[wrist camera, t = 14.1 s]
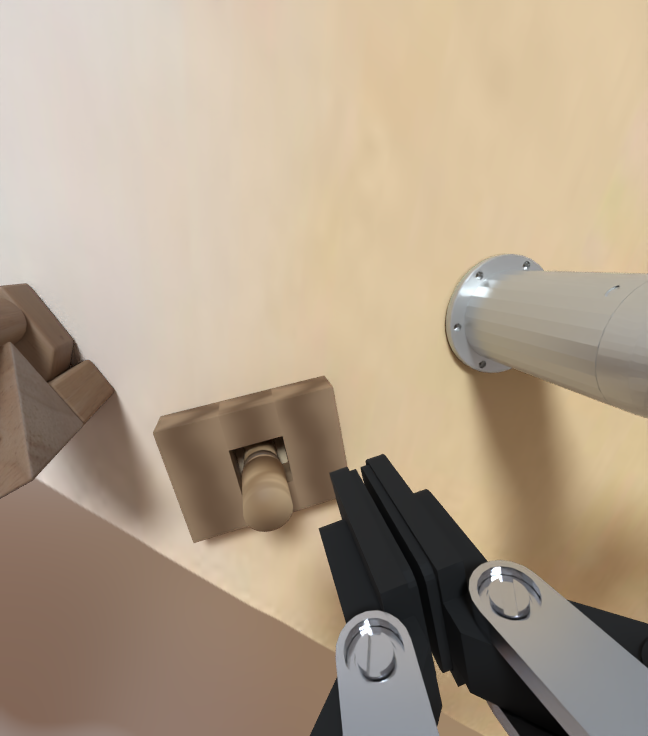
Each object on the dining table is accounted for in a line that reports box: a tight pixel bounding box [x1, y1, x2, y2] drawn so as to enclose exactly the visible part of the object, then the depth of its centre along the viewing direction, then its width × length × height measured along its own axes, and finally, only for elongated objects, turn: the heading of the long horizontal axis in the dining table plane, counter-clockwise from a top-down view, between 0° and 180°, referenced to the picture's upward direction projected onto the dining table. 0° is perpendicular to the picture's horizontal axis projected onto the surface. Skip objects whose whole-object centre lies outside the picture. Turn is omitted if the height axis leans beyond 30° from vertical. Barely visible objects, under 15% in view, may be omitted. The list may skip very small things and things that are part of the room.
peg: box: [242, 439, 293, 532], centre depth 32 cm, size 4×4×10 cm
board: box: [153, 376, 347, 543], centre depth 35 cm, size 16×12×4 cm
